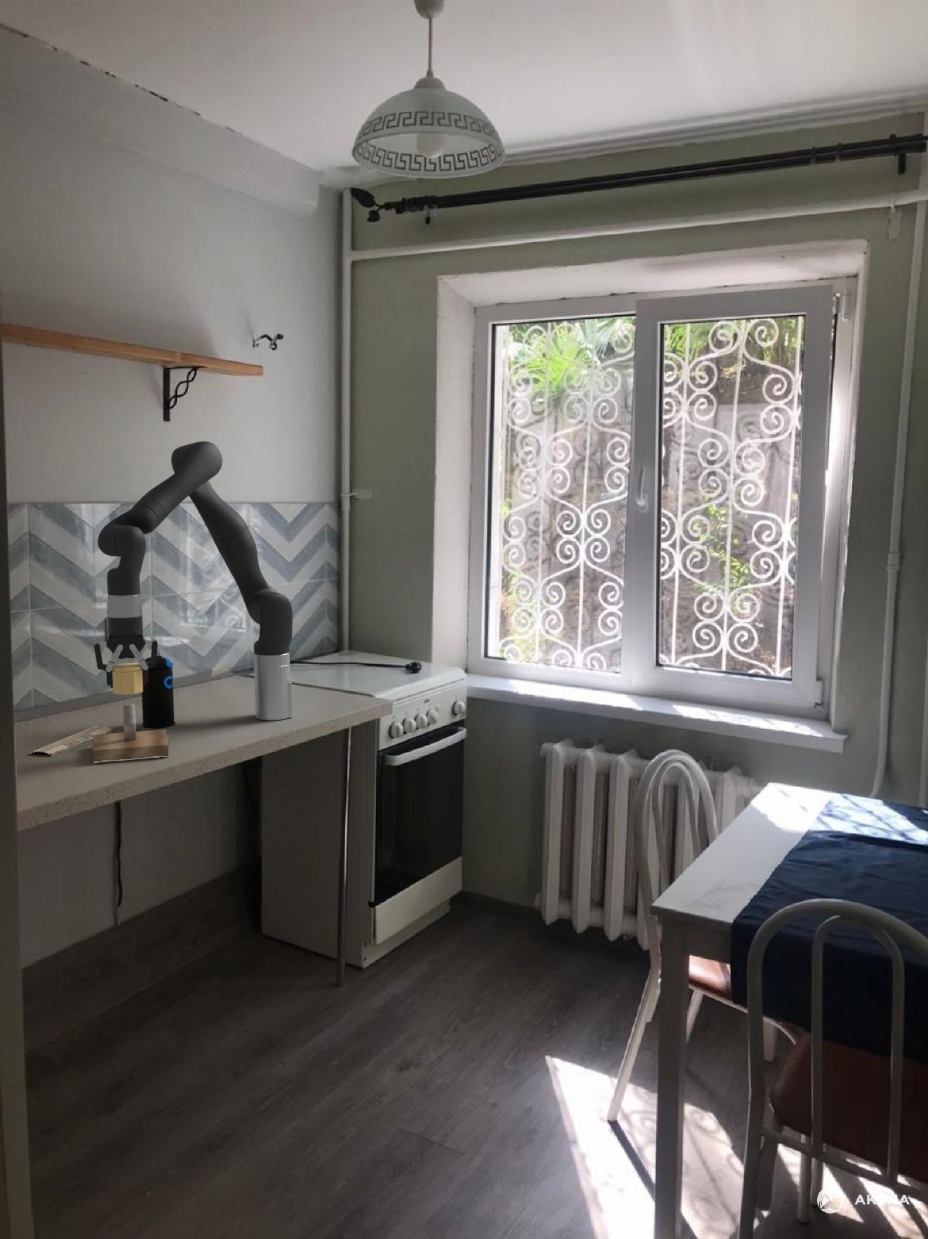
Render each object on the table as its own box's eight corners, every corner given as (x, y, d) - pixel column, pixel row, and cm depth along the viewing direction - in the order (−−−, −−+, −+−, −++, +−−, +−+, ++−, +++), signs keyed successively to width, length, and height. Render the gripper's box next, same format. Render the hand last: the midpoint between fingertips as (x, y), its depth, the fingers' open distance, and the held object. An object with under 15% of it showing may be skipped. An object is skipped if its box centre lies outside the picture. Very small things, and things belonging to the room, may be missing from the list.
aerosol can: (141, 730, 249) (137, 651, 246) (142, 722, 257) (139, 645, 254) (175, 728, 251) (172, 650, 249) (175, 720, 259) (172, 644, 256)
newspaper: (90, 732, 250) (90, 725, 250) (115, 733, 248) (115, 726, 248) (28, 757, 227) (28, 750, 227) (55, 760, 226) (55, 752, 225)
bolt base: (165, 741, 239) (164, 696, 237) (168, 757, 226) (166, 710, 224) (94, 747, 234) (92, 701, 232) (93, 763, 220) (90, 715, 219)
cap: (142, 687, 232) (141, 662, 231) (143, 693, 226) (142, 667, 225) (113, 689, 230) (112, 663, 229) (113, 695, 224) (112, 668, 223)
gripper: (157, 610, 231) (160, 681, 233) (91, 612, 226) (94, 685, 229) (158, 615, 224) (161, 687, 226) (90, 617, 219) (93, 691, 222)
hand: (127, 686), depth 227 cm, fingers closed on cap, 6 cm apart
